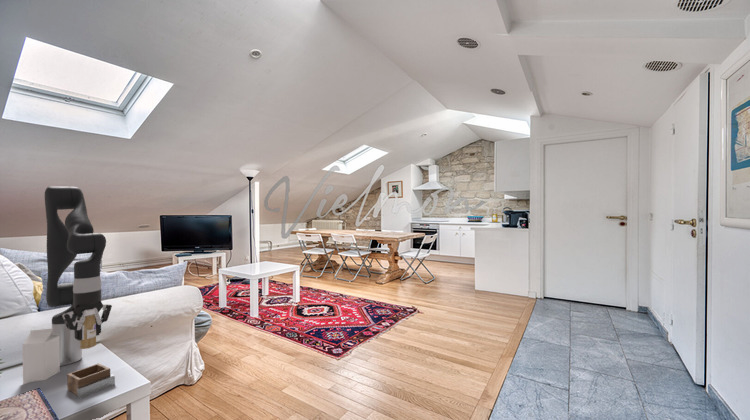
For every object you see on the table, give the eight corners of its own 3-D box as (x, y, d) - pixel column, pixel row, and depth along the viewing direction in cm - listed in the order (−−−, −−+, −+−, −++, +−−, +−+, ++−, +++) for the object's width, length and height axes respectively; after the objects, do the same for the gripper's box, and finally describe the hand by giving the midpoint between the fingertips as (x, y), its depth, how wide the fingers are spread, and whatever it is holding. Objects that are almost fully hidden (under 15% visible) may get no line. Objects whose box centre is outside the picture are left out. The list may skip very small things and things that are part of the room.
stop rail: (76, 397, 110) (76, 387, 110) (112, 383, 119) (112, 374, 119) (79, 399, 109) (79, 389, 109) (114, 385, 118) (114, 375, 118)
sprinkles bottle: (95, 347, 116) (95, 309, 116) (78, 350, 114) (77, 311, 114) (97, 343, 120) (97, 306, 120) (81, 346, 117) (80, 308, 118)
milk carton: (45, 383, 122) (44, 332, 122) (22, 385, 121) (22, 333, 121) (60, 373, 129) (59, 325, 129) (39, 375, 128) (38, 326, 128)
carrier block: (67, 389, 115) (67, 374, 115) (98, 378, 123) (98, 363, 123) (78, 396, 111) (78, 380, 111) (110, 383, 118) (110, 368, 118)
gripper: (65, 295, 109) (66, 347, 109) (116, 286, 121) (116, 332, 121) (56, 293, 112) (57, 342, 112) (106, 284, 125) (107, 329, 125)
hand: (88, 337), depth 117 cm, fingers closed on sprinkles bottle, 4 cm apart
